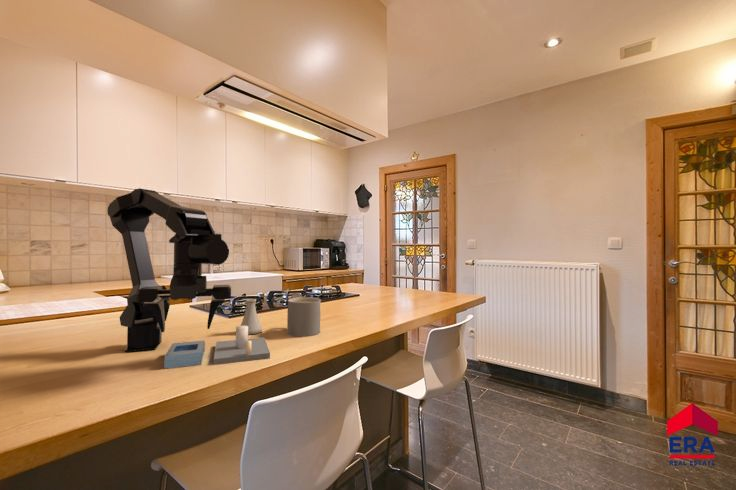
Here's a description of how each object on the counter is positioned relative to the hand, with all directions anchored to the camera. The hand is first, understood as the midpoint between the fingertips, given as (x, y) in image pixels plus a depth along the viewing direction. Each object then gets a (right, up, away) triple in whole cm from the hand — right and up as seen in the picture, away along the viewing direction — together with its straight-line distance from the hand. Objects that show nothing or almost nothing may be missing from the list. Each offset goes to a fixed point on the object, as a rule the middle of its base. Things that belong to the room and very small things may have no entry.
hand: (186, 330), depth 75 cm
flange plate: (0, -7, 0) cm, 7 cm away
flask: (+6, -7, +24) cm, 26 cm away
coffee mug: (+21, -7, +26) cm, 35 cm away
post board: (+11, -7, +6) cm, 14 cm away
